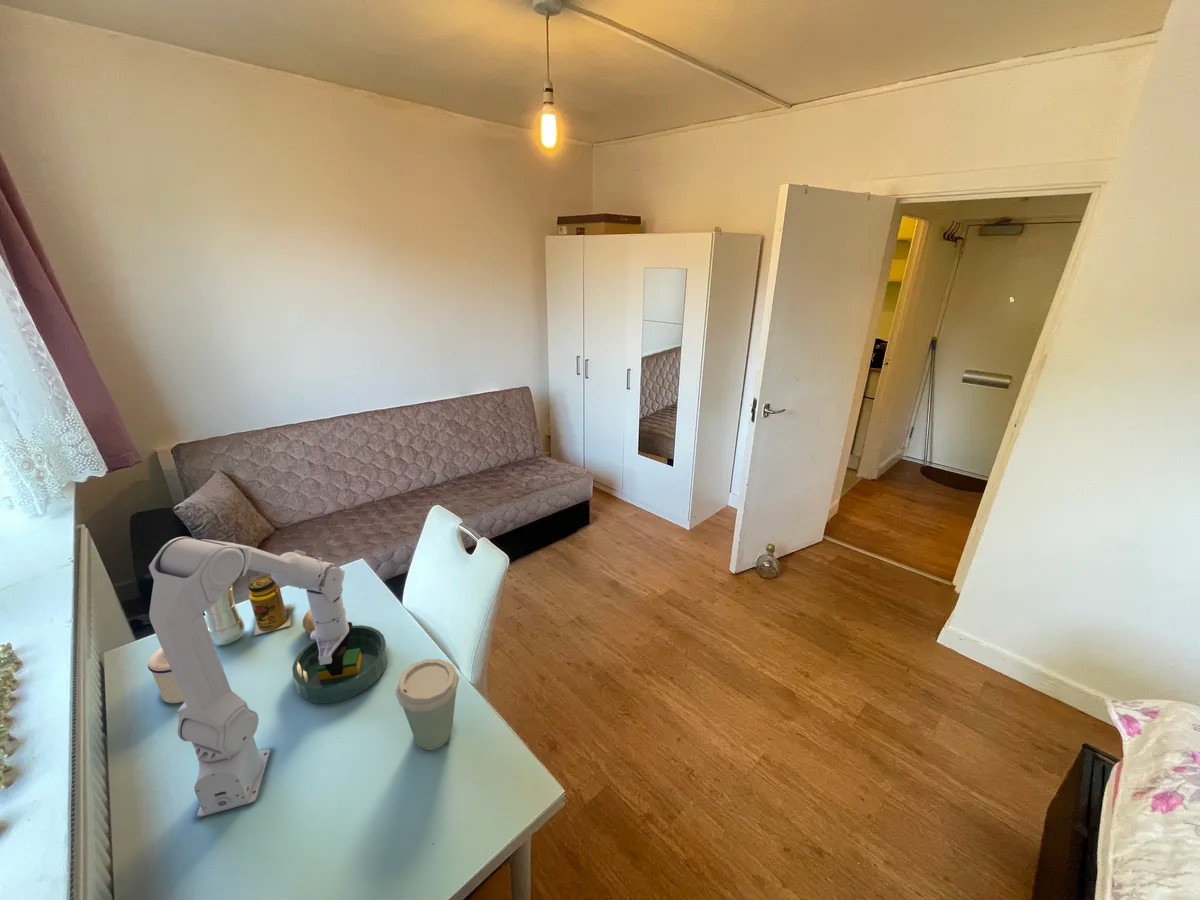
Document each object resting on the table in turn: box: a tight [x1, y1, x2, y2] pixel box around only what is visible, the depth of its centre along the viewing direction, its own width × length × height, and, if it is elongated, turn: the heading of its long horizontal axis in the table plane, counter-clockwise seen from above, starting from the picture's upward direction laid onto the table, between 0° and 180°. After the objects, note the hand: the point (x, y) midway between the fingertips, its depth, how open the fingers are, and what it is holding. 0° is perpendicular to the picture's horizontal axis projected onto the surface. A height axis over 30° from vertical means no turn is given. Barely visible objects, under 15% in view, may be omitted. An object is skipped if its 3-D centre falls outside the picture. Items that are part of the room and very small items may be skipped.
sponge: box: [317, 648, 362, 680], centre depth 104 cm, size 8×4×3 cm, turn 105°
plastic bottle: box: [203, 584, 245, 646], centre depth 109 cm, size 6×7×20 cm
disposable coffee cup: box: [395, 658, 460, 751], centre depth 89 cm, size 11×11×15 cm
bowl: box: [291, 624, 389, 704], centre depth 104 cm, size 18×18×4 cm
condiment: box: [248, 575, 293, 636], centre depth 116 cm, size 7×8×12 cm
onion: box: [302, 608, 315, 635], centre depth 115 cm, size 8×8×7 cm
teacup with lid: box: [147, 646, 185, 704], centre depth 99 cm, size 12×9×12 cm
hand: (339, 664), depth 104 cm, fingers closed on sponge, 4 cm apart
